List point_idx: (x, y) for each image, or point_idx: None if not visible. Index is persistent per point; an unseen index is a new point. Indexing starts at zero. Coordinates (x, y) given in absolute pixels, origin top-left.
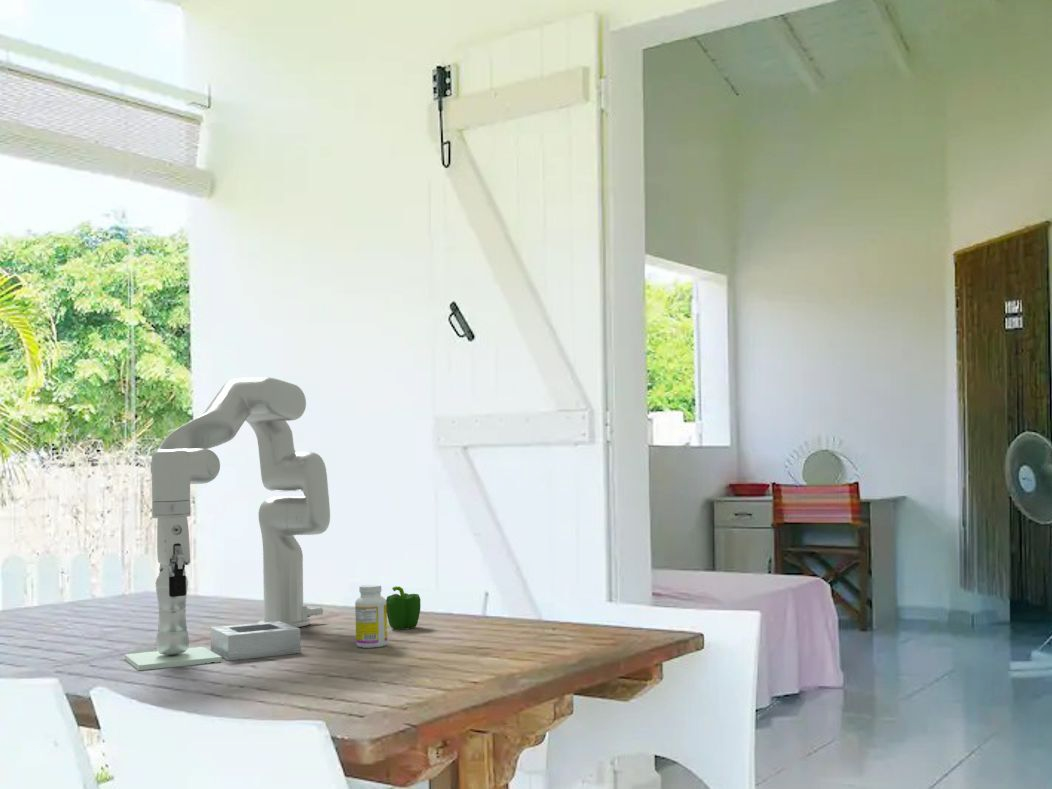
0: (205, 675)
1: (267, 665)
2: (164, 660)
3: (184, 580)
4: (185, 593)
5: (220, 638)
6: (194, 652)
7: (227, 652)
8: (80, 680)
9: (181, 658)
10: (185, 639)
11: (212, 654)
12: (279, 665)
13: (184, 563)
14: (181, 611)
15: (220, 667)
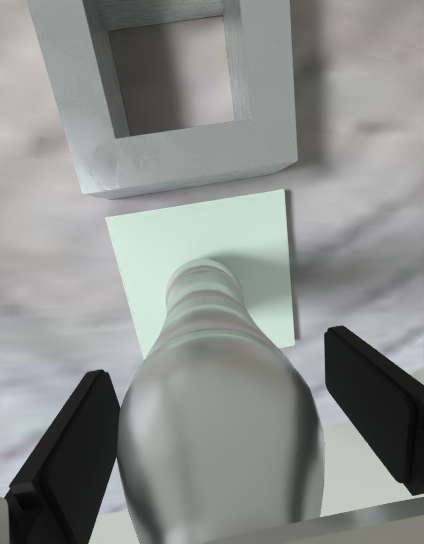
0: (412, 234)
1: (384, 94)
2: (265, 303)
3: (406, 380)
4: (344, 329)
5: (206, 178)
6: (189, 242)
7: (271, 171)
8: (327, 412)
9: (258, 272)
10: (229, 270)
11: (239, 205)
12: (402, 65)
13: (229, 540)
14: (243, 307)
15: (345, 199)
